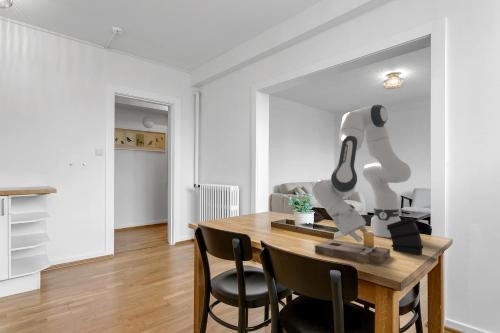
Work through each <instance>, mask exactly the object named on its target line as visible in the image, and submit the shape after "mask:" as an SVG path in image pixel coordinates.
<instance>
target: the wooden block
mask: <svg viewBox="0 0 500 333" xmlns="http://www.w3.org/2000/svg"><path fill="white" fill-rule="evenodd" d="M362 234H363V238H362V240H363V245H364V247H366V251H370V252H372V248H373V247H374V246H375V240H374V238H375V235H374V233H373V232H362Z"/></svg>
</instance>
